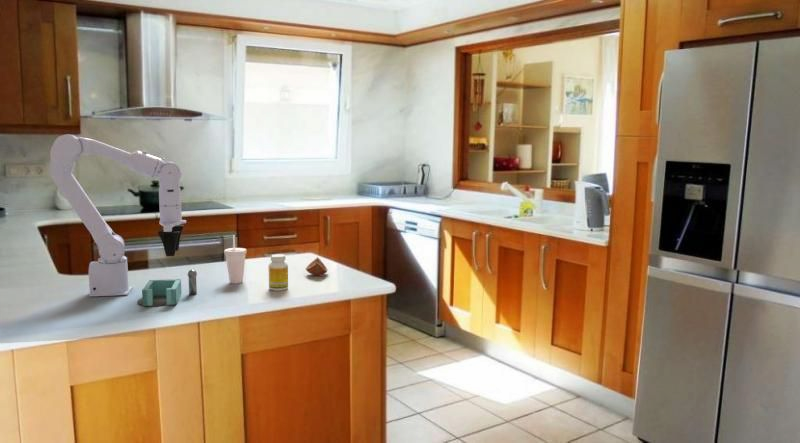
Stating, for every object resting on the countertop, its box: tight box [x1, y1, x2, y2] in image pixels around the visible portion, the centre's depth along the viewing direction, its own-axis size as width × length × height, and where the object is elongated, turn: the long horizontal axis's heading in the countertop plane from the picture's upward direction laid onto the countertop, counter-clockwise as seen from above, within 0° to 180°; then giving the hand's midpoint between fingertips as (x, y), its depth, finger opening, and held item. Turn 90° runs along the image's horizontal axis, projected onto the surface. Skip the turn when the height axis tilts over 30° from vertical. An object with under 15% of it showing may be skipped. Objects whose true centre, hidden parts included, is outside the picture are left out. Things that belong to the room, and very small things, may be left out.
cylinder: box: [187, 269, 198, 296], centre depth 172 cm, size 2×2×7 cm
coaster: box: [137, 295, 168, 307], centre depth 165 cm, size 10×10×1 cm
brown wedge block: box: [305, 257, 328, 276], centre depth 196 cm, size 8×7×5 cm
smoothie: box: [223, 234, 247, 284], centre depth 185 cm, size 6×6×14 cm
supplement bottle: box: [268, 253, 289, 292], centre depth 178 cm, size 5×5×10 cm
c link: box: [141, 278, 182, 307], centre depth 165 cm, size 8×11×4 cm
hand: (172, 253), depth 177 cm, fingers open, 7 cm apart
